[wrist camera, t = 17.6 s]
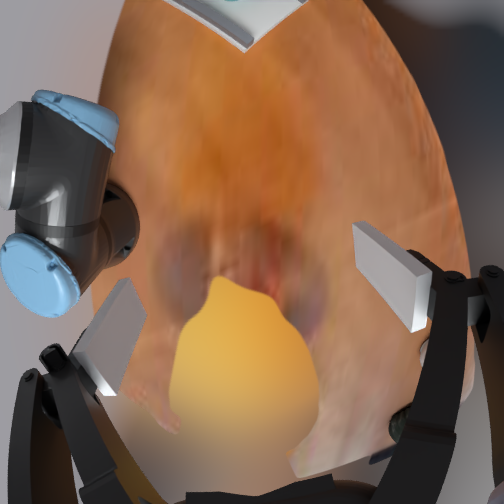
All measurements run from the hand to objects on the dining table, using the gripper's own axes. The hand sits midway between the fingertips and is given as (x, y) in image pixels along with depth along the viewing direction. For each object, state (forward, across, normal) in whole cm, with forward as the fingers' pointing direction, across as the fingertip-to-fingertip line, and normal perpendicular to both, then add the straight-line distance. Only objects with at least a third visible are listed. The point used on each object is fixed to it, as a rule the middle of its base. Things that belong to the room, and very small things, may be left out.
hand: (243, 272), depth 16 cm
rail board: (+32, +7, +34) cm, 47 cm away
